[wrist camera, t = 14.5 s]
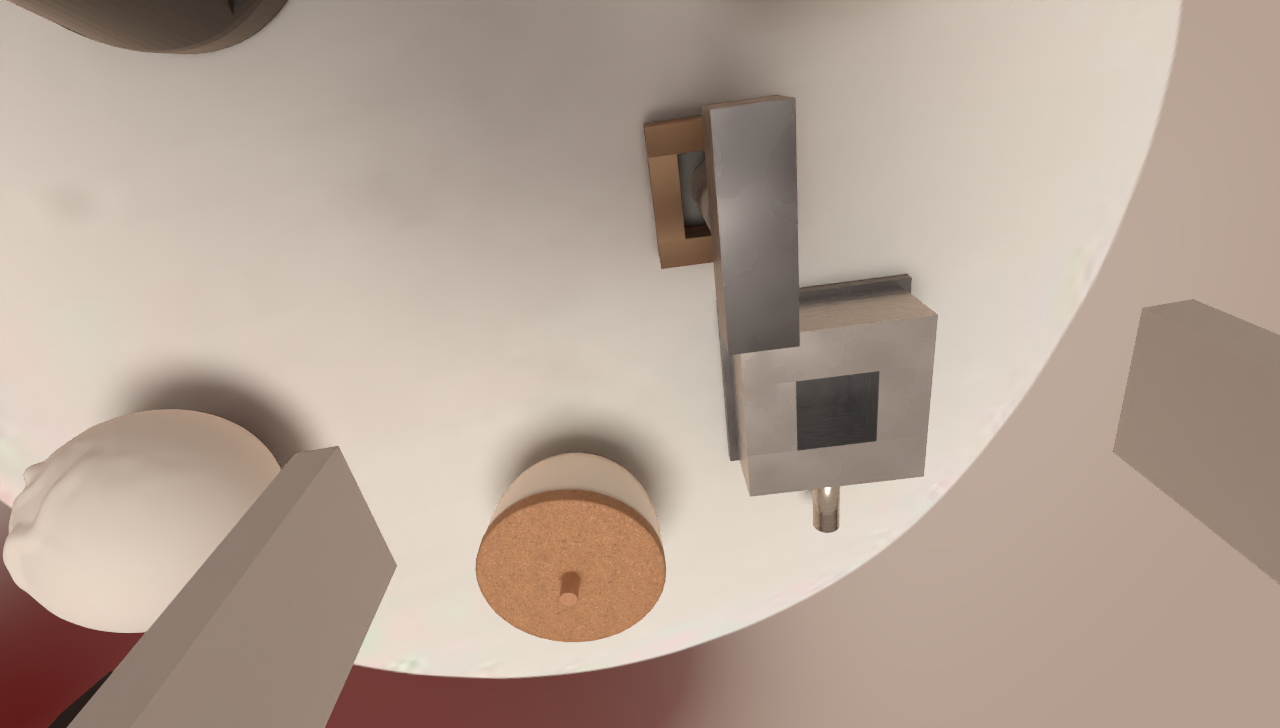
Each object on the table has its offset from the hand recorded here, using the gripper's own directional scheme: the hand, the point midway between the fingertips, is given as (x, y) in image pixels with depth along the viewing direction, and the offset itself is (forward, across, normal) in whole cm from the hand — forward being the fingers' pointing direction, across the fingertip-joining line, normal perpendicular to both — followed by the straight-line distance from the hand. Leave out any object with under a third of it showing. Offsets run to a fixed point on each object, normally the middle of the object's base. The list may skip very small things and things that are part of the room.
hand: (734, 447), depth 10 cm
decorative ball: (+25, -30, -12) cm, 41 cm away
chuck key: (+25, +3, -1) cm, 25 cm away
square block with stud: (+24, +7, -15) cm, 30 cm away
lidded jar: (+25, -8, -19) cm, 32 cm away
